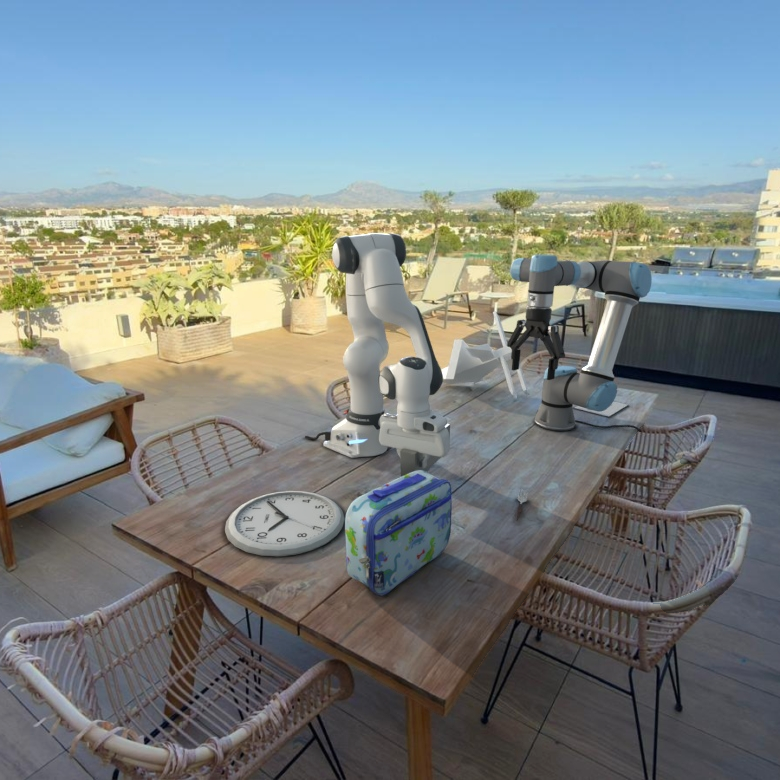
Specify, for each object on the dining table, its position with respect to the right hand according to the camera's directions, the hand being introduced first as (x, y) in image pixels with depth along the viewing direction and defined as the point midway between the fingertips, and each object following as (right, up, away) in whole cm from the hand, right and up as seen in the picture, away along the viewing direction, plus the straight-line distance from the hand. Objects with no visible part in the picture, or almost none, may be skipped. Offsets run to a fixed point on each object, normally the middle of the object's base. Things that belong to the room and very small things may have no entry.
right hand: (532, 374), depth 165 cm
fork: (-9, -37, -22) cm, 45 cm away
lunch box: (-43, -45, -49) cm, 79 cm away
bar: (-34, -26, -13) cm, 45 cm away
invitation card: (+46, -12, +61) cm, 77 cm away
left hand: (-39, -26, -21) cm, 51 cm away
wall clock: (-72, -39, -31) cm, 87 cm away
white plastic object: (-3, -6, +78) cm, 78 cm away
